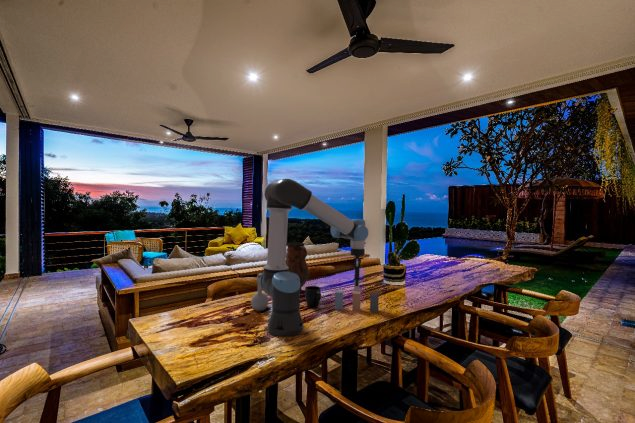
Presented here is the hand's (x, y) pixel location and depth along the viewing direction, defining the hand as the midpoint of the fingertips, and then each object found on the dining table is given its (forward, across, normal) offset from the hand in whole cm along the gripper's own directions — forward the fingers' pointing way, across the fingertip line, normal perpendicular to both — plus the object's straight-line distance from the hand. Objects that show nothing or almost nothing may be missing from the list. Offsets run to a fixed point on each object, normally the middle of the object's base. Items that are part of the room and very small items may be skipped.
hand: (356, 291), depth 160 cm
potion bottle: (+8, -15, +49) cm, 52 cm away
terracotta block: (+7, -8, 0) cm, 11 cm away
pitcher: (+8, +16, +36) cm, 40 cm away
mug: (+8, -7, +22) cm, 24 cm away
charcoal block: (+7, -8, -9) cm, 14 cm away
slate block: (+7, -8, +9) cm, 14 cm away
